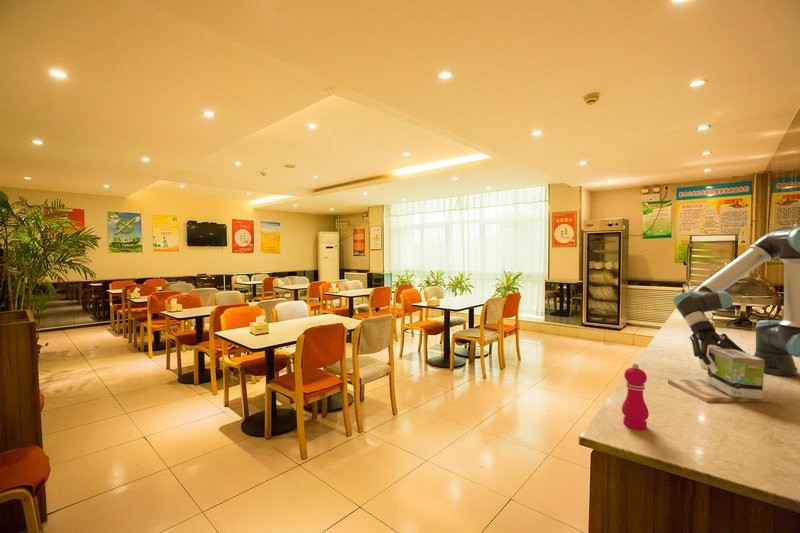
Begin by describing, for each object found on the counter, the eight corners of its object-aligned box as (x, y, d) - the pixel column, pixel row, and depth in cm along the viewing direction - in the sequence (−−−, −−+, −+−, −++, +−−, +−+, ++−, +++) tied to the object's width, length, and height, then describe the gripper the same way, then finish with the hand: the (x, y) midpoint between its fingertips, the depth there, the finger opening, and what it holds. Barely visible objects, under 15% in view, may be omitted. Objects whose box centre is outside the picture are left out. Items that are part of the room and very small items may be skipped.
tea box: (763, 400, 129) (766, 359, 129) (730, 397, 132) (732, 357, 131) (735, 384, 144) (737, 348, 143) (706, 382, 146) (707, 346, 146)
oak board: (723, 382, 151) (723, 379, 151) (769, 401, 132) (769, 397, 132) (668, 383, 151) (668, 379, 151) (706, 402, 132) (706, 397, 132)
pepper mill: (616, 420, 118) (617, 360, 118) (637, 419, 119) (637, 359, 118) (632, 431, 111) (633, 367, 110) (654, 430, 112) (655, 366, 111)
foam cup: (700, 369, 167) (700, 342, 167) (692, 364, 176) (693, 337, 175) (725, 372, 164) (726, 343, 163) (717, 366, 172) (717, 339, 172)
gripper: (722, 329, 157) (756, 376, 142) (667, 329, 157) (695, 376, 142) (733, 319, 151) (770, 367, 136) (676, 320, 151) (706, 367, 137)
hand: (732, 372), depth 139 cm, fingers open, 11 cm apart
